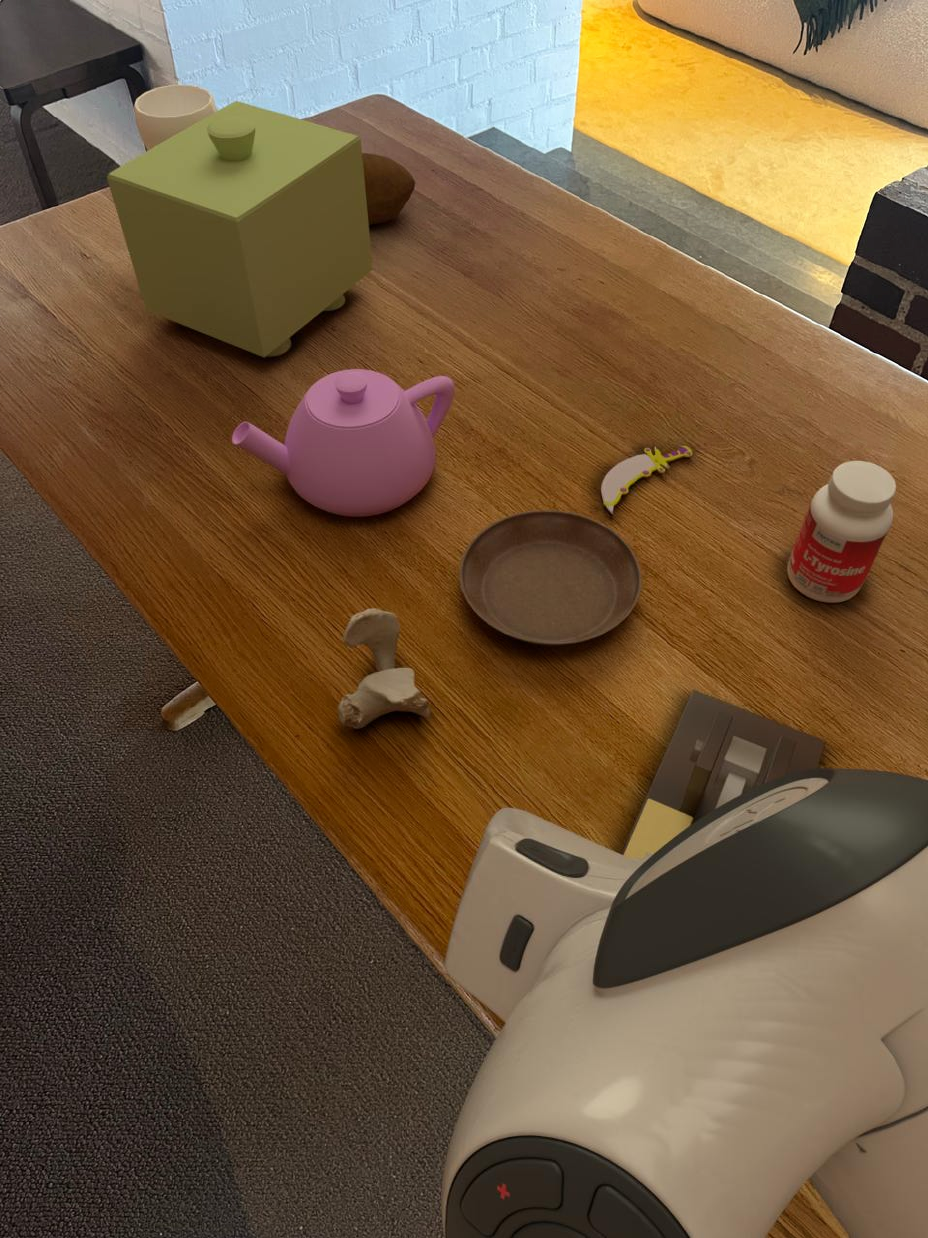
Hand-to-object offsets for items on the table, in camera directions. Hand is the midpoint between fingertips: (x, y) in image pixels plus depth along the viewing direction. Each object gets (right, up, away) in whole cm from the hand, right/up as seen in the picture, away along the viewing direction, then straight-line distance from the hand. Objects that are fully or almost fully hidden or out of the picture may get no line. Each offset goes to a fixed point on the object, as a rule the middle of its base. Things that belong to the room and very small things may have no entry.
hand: (695, 889), depth 50 cm
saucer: (-5, +16, +30) cm, 34 cm away
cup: (-43, +60, +66) cm, 99 cm away
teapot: (-22, +27, +39) cm, 53 cm away
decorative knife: (+4, +27, +39) cm, 47 cm away
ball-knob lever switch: (+2, +1, +5) cm, 5 cm away
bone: (-18, +7, +23) cm, 30 cm away
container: (-34, +49, +56) cm, 82 cm away
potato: (-24, +64, +69) cm, 97 cm away
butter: (+2, -4, +11) cm, 12 cm away
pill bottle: (+18, +18, +31) cm, 40 cm away
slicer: (+5, -1, +16) cm, 16 cm away
